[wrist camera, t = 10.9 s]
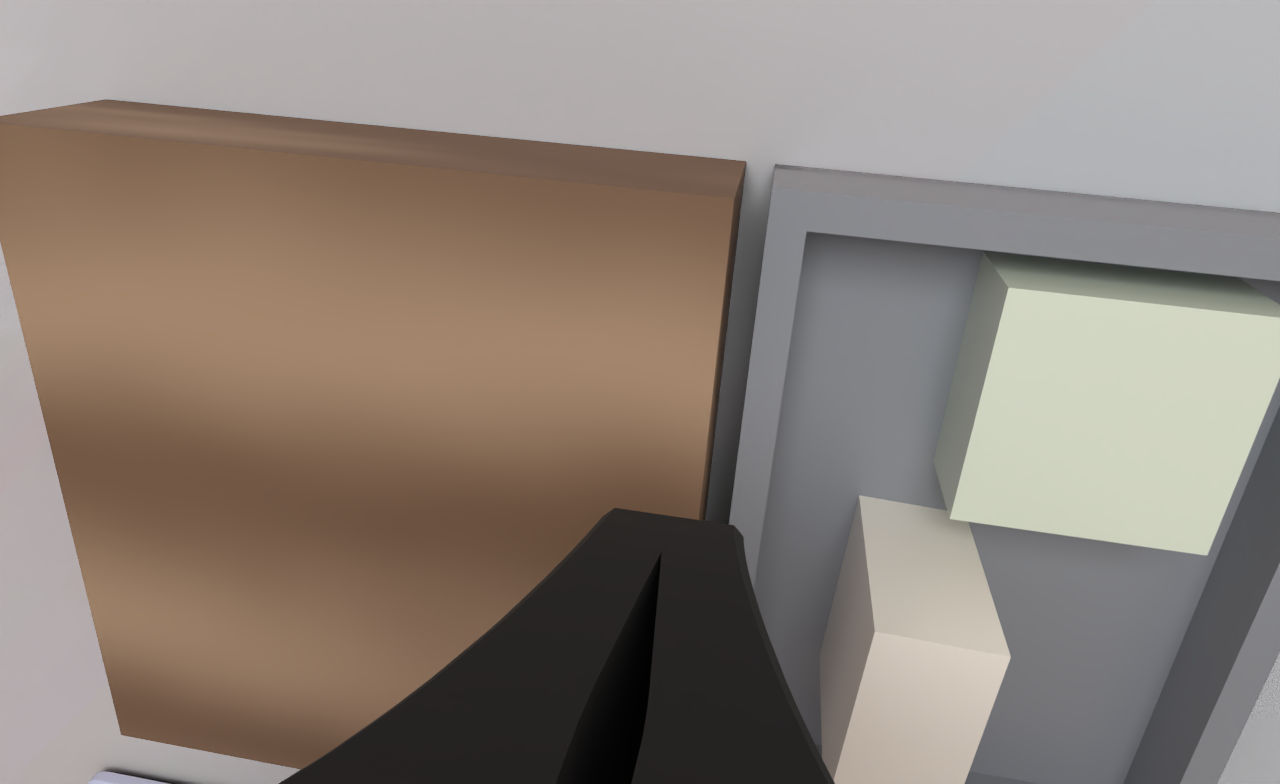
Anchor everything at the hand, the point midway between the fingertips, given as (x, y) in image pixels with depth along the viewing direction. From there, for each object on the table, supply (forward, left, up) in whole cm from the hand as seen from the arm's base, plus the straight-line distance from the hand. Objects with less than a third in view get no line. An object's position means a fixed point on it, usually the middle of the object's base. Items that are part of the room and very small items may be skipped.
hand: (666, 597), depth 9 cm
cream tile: (-5, -3, -6) cm, 8 cm away
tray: (-3, -5, -8) cm, 10 cm away
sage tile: (0, -6, -6) cm, 8 cm away
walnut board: (-3, +6, -8) cm, 11 cm away
